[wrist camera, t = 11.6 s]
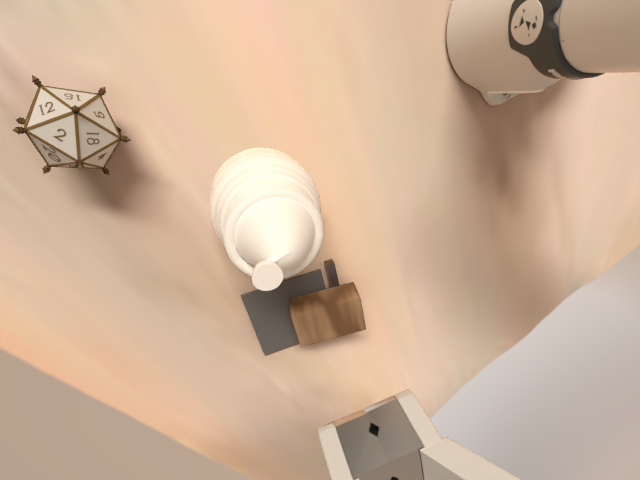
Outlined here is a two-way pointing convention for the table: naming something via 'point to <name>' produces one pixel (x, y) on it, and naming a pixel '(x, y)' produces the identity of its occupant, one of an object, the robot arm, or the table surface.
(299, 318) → the walnut block
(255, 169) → the honey pot
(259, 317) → the mat
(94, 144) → the twenty-sided die
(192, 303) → the table surface
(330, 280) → the rail
